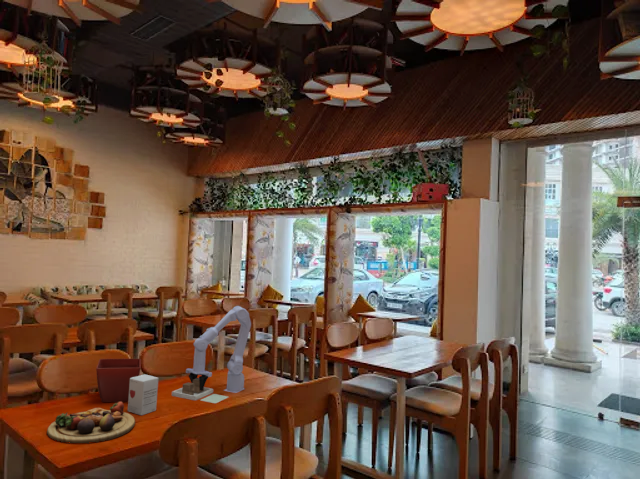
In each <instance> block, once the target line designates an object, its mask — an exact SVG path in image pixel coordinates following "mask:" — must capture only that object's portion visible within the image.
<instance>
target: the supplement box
mask: <svg viewBox="0 0 640 479" xmlns="http://www.w3.org/2000/svg"><path fill="white" fill-rule="evenodd" d="M158 389H159V377H156V376H153V375H150V374H149V375H148V374H141V375H140V374H139V376H136V377H132V378H130V384H129V398H128V401H127V403H128V404H127V413H133V414H136V415H139V416H144V415H146V414H149V413H152V412H156V410H157V403H158Z"/></svg>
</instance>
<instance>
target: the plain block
mask: <svg viewBox="0 0 640 479" xmlns="http://www.w3.org/2000/svg"><path fill="white" fill-rule="evenodd" d="M181 388H182V393H184V394H189V395H194V383H191V382H185V383H183V384H182V387H181Z"/></svg>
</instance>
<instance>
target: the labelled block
mask: <svg viewBox="0 0 640 479" xmlns="http://www.w3.org/2000/svg"><path fill="white" fill-rule="evenodd" d="M193 383H194V392H197V393H199V392H202V391H203V390H200V380H199V377H197V378H196V379H193Z"/></svg>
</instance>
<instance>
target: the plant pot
mask: <svg viewBox="0 0 640 479" xmlns="http://www.w3.org/2000/svg"><path fill="white" fill-rule="evenodd" d="M141 361H142V359H141V358H99V360H98V364H96V365H97V366H96V369H95V370H96V381H97V388H98V393H99V398H100V401H101V403H118V402H128V398H129V384H130V378H132V377H136V376H140V372H141V368H142V367H141V366H142V365H141V364H142V362H141Z"/></svg>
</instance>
